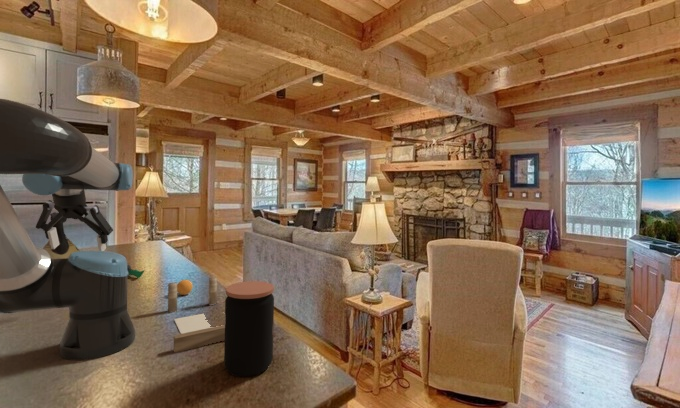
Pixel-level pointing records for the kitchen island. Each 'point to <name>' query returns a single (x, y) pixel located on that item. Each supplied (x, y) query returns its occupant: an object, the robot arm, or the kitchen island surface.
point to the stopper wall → (198, 338)
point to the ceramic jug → (60, 242)
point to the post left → (172, 297)
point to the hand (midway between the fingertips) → (79, 248)
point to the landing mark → (192, 323)
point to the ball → (184, 287)
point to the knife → (134, 272)
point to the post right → (212, 290)
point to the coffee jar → (248, 327)
